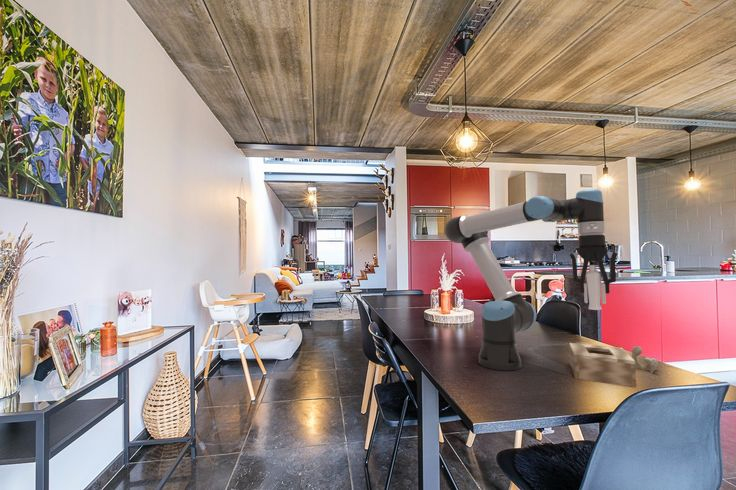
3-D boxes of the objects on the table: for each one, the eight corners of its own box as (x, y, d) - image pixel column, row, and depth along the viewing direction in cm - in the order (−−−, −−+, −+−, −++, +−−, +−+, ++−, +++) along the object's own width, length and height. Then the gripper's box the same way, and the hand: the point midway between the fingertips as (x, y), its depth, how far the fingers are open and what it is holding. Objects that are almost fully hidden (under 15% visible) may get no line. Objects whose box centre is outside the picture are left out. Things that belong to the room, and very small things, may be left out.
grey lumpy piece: (672, 369, 110) (657, 344, 110) (661, 380, 109) (645, 355, 109) (646, 363, 118) (632, 340, 118) (635, 373, 117) (621, 350, 117)
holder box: (575, 378, 107) (574, 354, 107) (570, 364, 121) (569, 342, 121) (636, 386, 99) (635, 360, 100) (623, 370, 114) (622, 347, 114)
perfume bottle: (583, 308, 111) (580, 265, 112) (594, 308, 111) (592, 265, 112) (593, 310, 107) (590, 265, 107) (605, 310, 107) (603, 265, 108)
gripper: (562, 235, 111) (565, 303, 110) (625, 232, 103) (629, 305, 101) (561, 236, 118) (564, 300, 117) (621, 234, 109) (625, 302, 108)
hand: (595, 302), depth 109 cm, fingers closed on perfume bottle, 4 cm apart
